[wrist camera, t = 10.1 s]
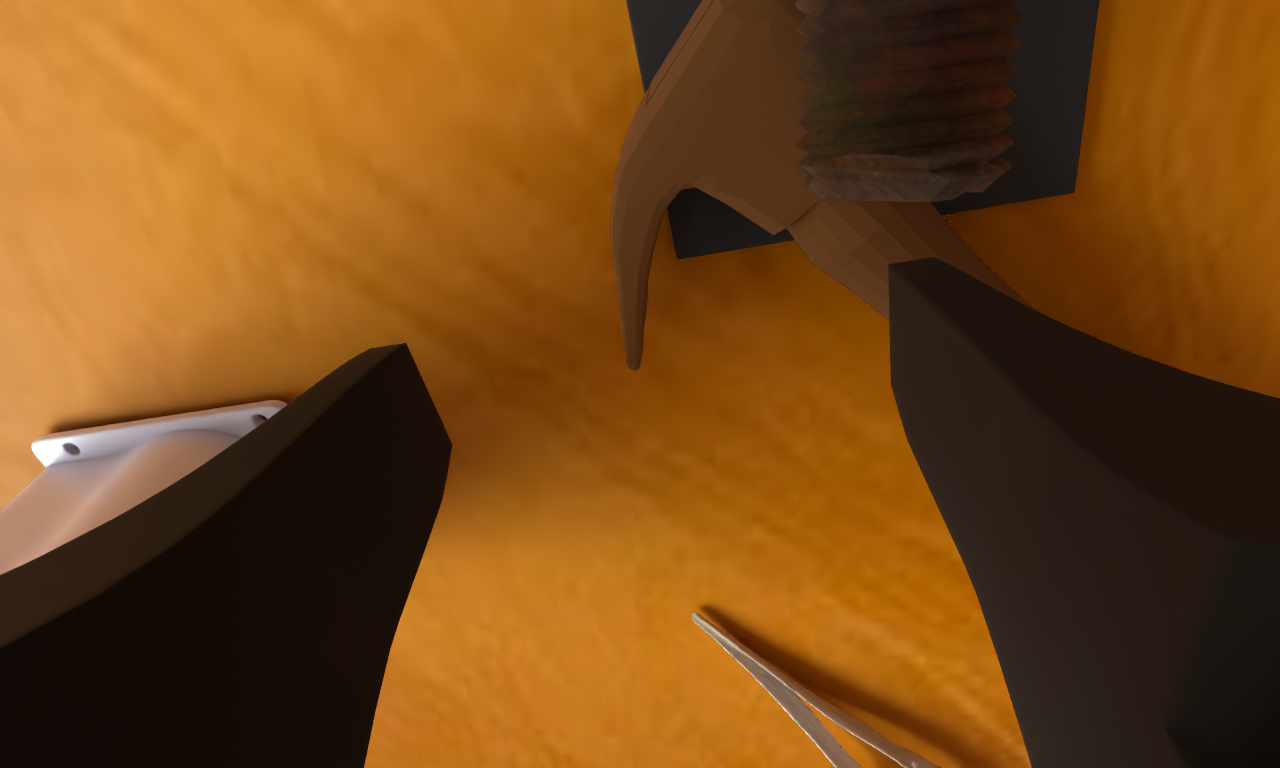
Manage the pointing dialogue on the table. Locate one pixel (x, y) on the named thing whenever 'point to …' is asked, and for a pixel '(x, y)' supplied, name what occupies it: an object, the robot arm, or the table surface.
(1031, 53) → the mat
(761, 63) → the hammer
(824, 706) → the tweezers
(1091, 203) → the table surface
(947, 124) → the bolt
